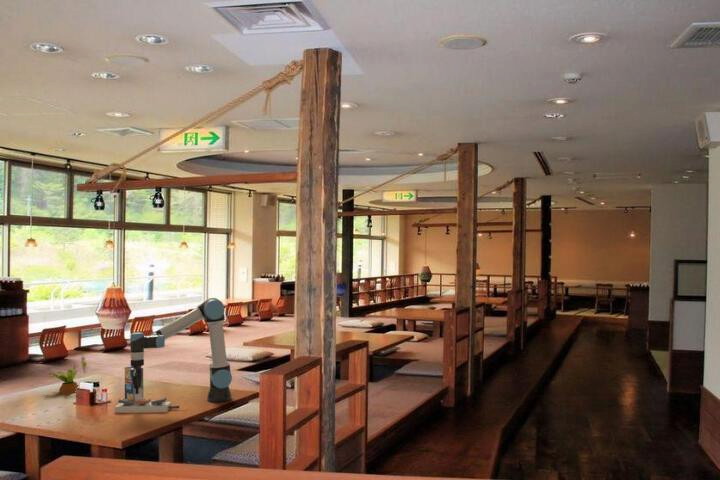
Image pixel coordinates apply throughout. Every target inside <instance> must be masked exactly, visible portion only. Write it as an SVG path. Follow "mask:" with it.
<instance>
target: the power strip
mask: <svg viewBox="0 0 720 480" xmlns="http://www.w3.org/2000/svg"><path fill="white" fill-rule="evenodd" d="M151 402H152V401H150V402H149V403H142V404H135V402H134V404H132V405H129V404H124V403H118V404H116V405H115V406H114V413H115V414H119V413H120V414H121V413H122V414H123V413H125V414H127V413H128V414H129V413H130V414H131V413H132V414H133V413H168V411H169V410H173V409H175V410H177V409H180V405H172V401H165V402H162V403H157V404H153V405H151Z"/></svg>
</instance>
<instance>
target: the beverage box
mask: <svg viewBox="0 0 720 480" xmlns="http://www.w3.org/2000/svg"><path fill="white" fill-rule="evenodd" d="M141 368H142V369H143V370H144V368H143V367H141ZM133 369H134V367H133V366H126V367H124V399H129V400H134V401H136V400H137V399H135V388H133V387H134V386H133V376H132V373H133ZM141 386H142V387H140V399H144V371H143V372H142V385H141Z"/></svg>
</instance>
